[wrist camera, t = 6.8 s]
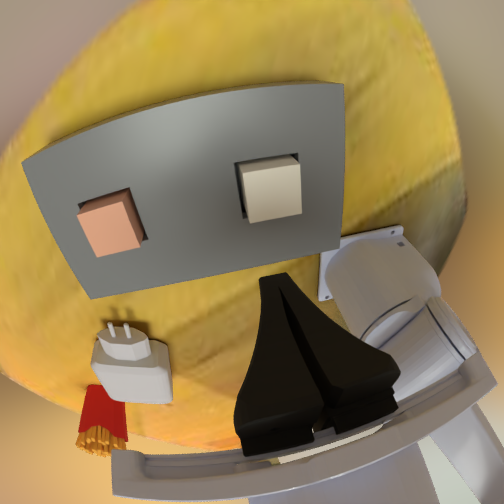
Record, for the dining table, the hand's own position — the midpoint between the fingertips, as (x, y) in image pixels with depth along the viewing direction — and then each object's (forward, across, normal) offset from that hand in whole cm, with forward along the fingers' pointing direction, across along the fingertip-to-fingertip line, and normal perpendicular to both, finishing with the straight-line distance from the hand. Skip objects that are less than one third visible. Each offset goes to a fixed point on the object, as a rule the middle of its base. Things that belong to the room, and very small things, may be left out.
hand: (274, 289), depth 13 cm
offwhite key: (+7, -1, -3) cm, 8 cm away
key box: (+10, +4, -3) cm, 11 cm away
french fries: (+10, +27, +28) cm, 40 cm away
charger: (+10, +16, +16) cm, 25 cm away
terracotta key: (+7, +9, -3) cm, 12 cm away
